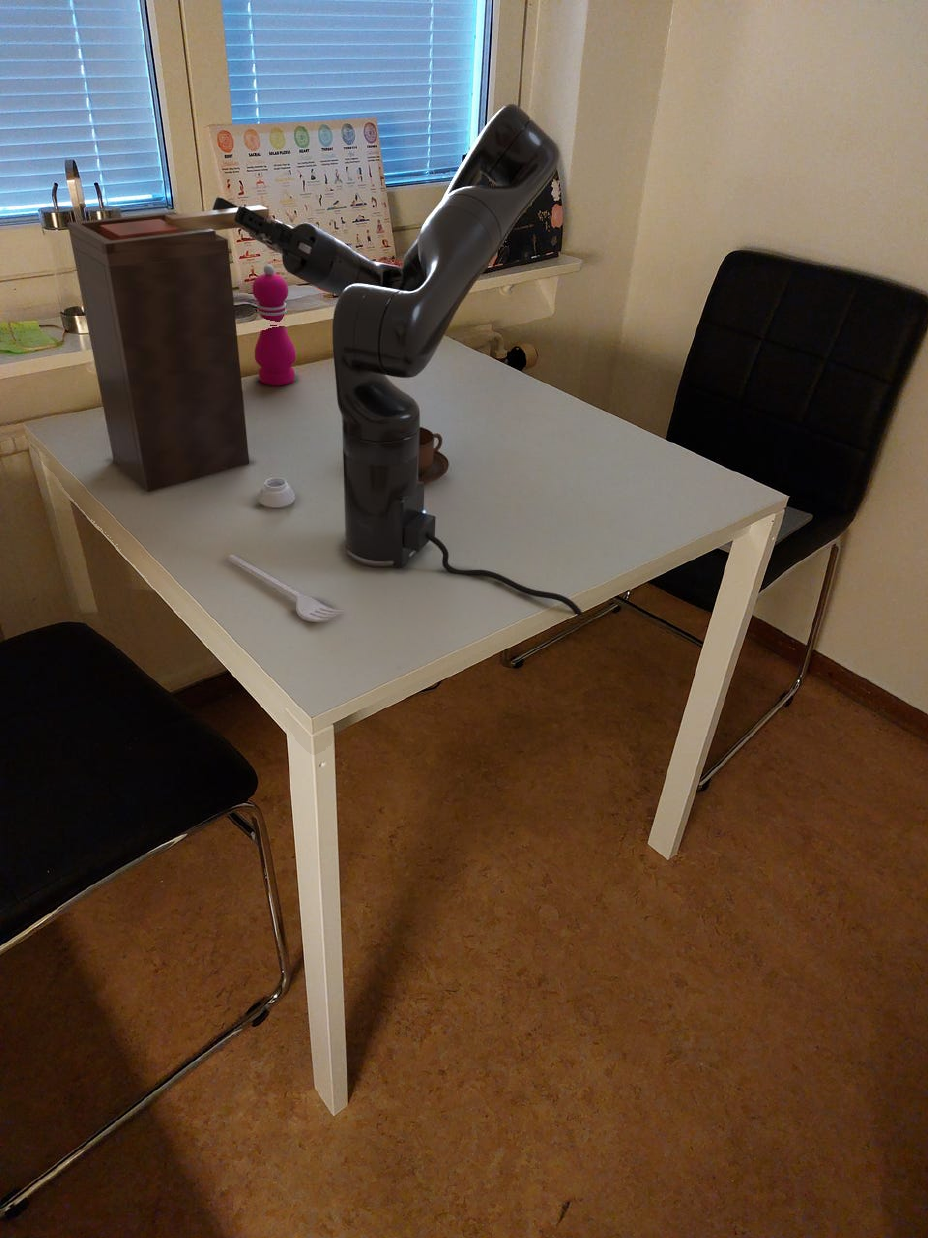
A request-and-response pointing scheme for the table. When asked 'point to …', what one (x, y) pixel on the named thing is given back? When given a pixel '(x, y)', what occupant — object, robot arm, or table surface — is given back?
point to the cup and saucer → (430, 457)
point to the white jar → (276, 493)
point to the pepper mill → (273, 330)
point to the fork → (292, 595)
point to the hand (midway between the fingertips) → (227, 208)
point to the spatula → (179, 223)
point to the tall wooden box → (164, 349)
